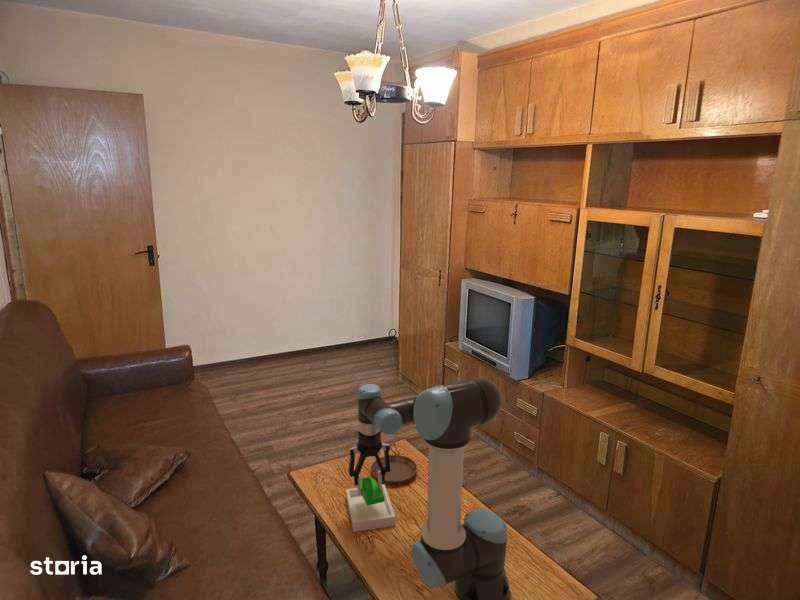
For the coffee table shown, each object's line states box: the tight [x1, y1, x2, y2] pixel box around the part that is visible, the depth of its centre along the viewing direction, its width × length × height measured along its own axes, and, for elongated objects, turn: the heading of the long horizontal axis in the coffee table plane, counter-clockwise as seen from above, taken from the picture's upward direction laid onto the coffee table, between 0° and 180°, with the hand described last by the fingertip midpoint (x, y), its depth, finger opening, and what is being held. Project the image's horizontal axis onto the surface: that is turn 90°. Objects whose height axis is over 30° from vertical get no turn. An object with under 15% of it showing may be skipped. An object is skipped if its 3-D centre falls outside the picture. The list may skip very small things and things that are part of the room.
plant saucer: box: [370, 454, 418, 485], centre depth 199 cm, size 18×18×3 cm
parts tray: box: [345, 483, 396, 533], centre depth 177 cm, size 18×14×4 cm
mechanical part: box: [361, 476, 384, 506], centre depth 174 cm, size 12×6×8 cm, turn 22°
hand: (369, 490), depth 176 cm, fingers closed on mechanical part, 6 cm apart
